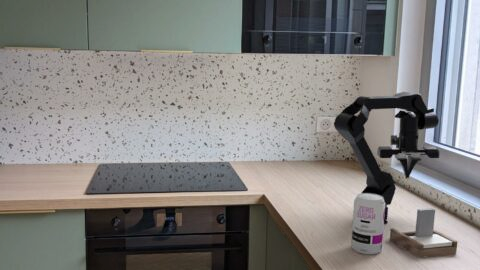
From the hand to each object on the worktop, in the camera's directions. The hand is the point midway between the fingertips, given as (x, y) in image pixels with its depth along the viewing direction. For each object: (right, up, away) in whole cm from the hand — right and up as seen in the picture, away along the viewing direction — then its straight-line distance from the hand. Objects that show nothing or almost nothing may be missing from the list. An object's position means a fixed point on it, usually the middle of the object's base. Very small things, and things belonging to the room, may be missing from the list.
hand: (406, 177), depth 175 cm
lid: (-3, -15, -29) cm, 33 cm away
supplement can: (-20, -18, -30) cm, 40 cm away
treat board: (-4, -17, -26) cm, 31 cm away
